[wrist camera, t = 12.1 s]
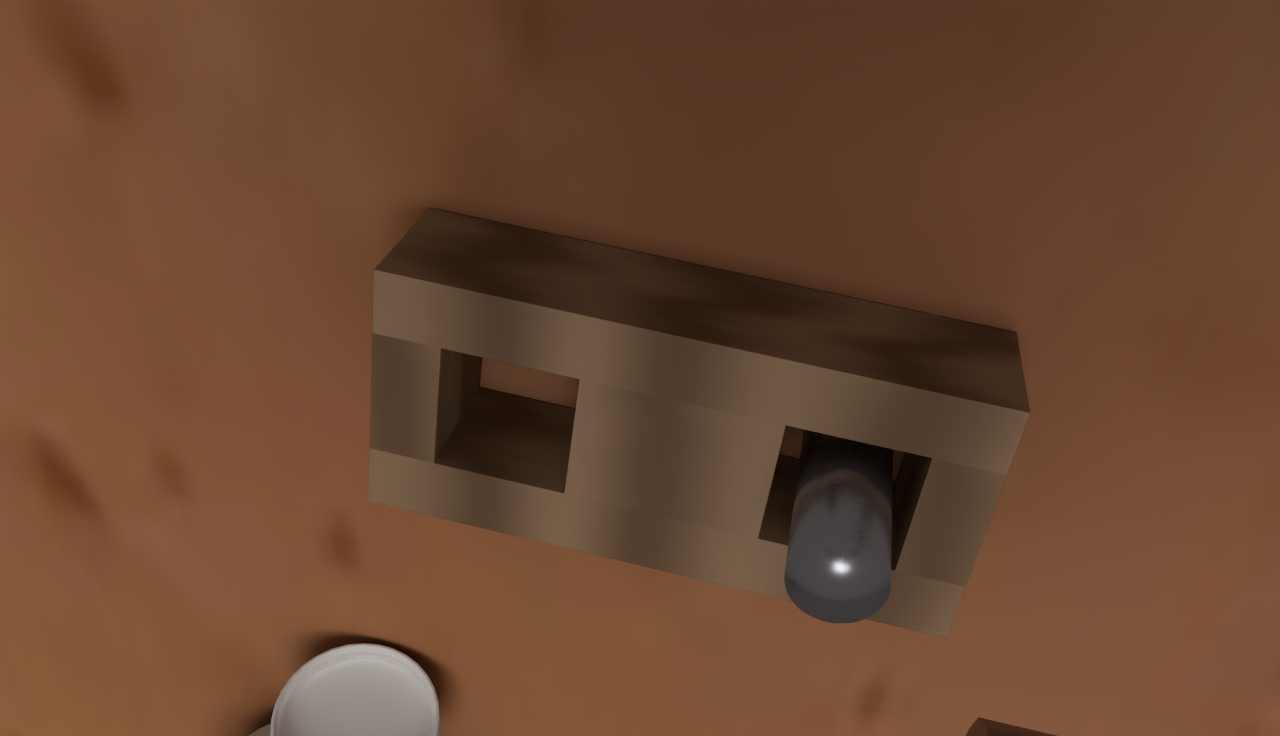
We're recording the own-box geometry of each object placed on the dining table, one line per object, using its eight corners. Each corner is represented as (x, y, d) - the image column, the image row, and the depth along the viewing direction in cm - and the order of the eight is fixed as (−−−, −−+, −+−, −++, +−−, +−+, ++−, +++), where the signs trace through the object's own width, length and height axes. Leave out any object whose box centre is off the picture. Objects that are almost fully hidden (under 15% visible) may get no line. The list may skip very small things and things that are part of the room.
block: (1016, 332, 39) (1030, 413, 34) (941, 544, 43) (945, 638, 39) (429, 207, 41) (374, 269, 36) (418, 423, 45) (368, 501, 41)
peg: (902, 389, 41) (902, 554, 33) (881, 460, 42) (876, 633, 34) (816, 370, 41) (796, 530, 33) (798, 441, 42) (775, 609, 35)
